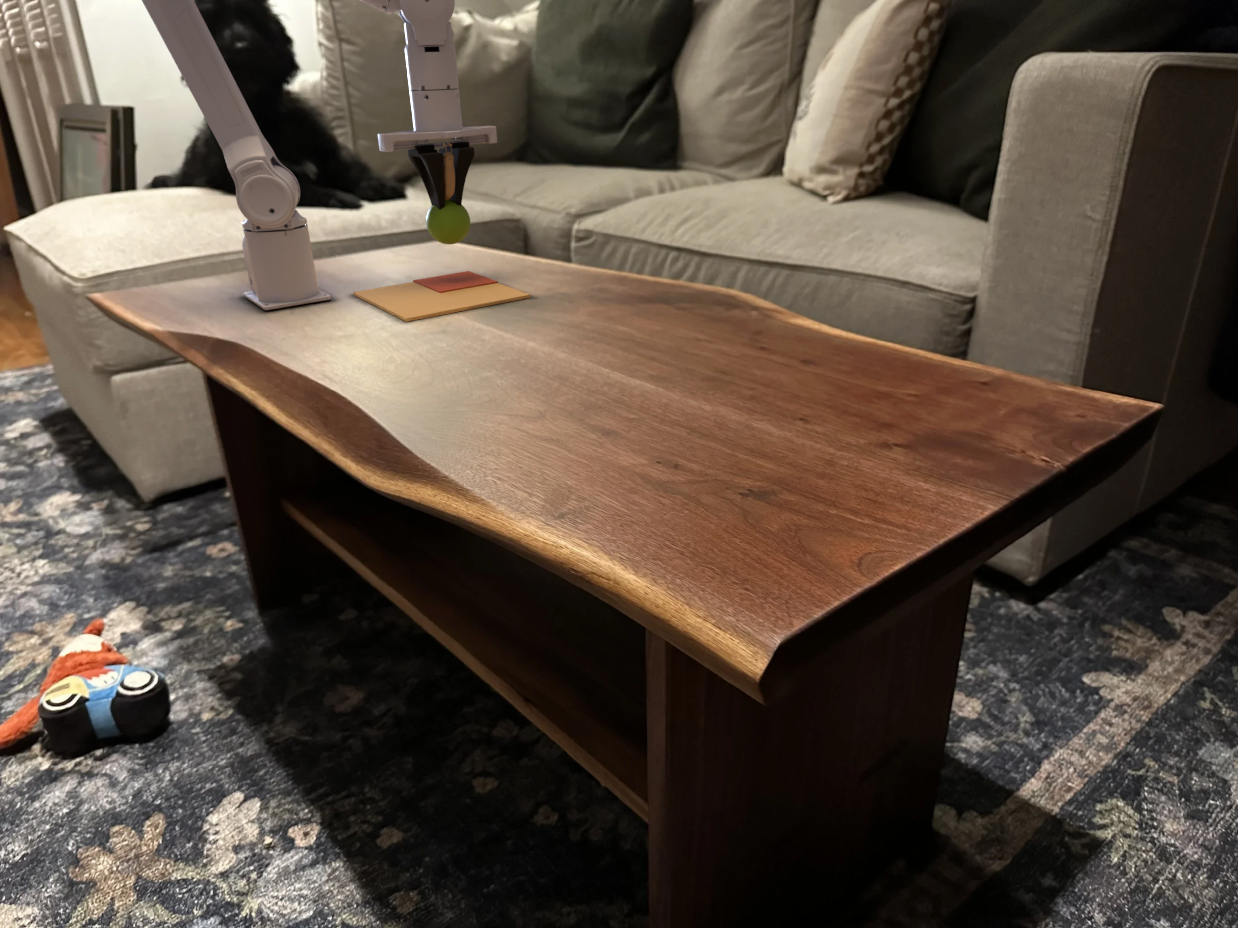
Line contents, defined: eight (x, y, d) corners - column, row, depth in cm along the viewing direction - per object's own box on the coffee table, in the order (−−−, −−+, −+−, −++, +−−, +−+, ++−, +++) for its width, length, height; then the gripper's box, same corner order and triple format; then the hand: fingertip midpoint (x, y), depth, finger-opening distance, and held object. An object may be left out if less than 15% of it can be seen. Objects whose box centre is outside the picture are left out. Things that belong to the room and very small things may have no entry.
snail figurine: (446, 249, 105) (427, 144, 101) (423, 247, 110) (404, 146, 106) (485, 241, 108) (468, 139, 104) (461, 239, 113) (444, 141, 109)
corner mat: (353, 295, 108) (352, 290, 108) (468, 275, 117) (468, 271, 116) (406, 322, 97) (405, 316, 96) (530, 297, 105) (530, 292, 105)
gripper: (389, 93, 95) (405, 220, 101) (505, 87, 103) (514, 206, 108) (364, 92, 100) (381, 213, 106) (477, 87, 108) (487, 200, 114)
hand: (446, 209), depth 108 cm, fingers closed on snail figurine
